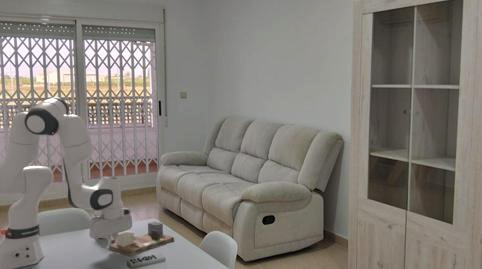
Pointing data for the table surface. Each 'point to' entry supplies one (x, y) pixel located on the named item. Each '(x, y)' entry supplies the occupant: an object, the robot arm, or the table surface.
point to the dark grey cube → (155, 228)
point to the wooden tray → (141, 244)
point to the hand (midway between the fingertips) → (111, 243)
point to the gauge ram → (126, 238)
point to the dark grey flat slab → (154, 235)
